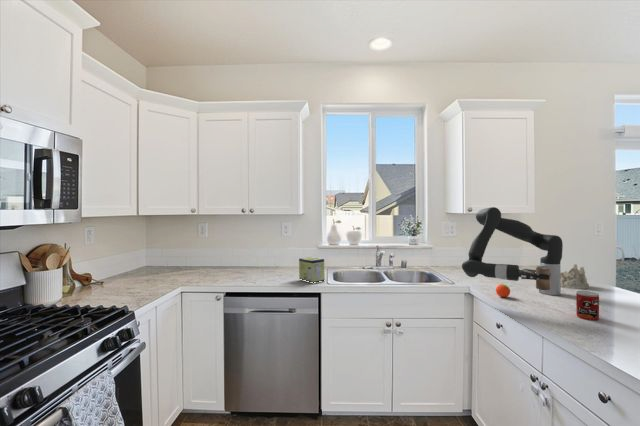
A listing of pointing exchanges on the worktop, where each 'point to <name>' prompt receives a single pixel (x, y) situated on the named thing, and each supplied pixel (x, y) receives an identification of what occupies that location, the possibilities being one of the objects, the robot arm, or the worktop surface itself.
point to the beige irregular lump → (574, 278)
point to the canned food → (587, 305)
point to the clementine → (503, 290)
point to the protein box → (311, 269)
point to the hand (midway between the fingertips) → (549, 276)
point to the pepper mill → (543, 283)
